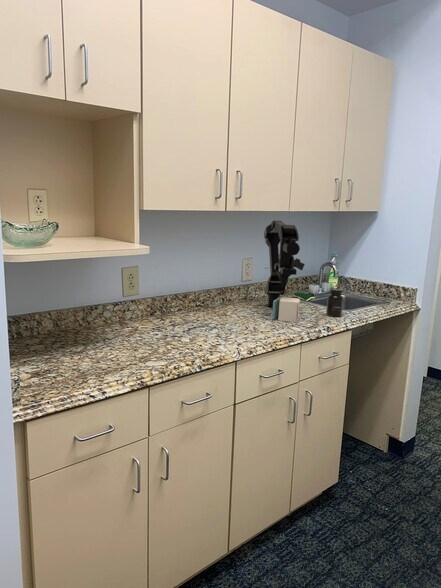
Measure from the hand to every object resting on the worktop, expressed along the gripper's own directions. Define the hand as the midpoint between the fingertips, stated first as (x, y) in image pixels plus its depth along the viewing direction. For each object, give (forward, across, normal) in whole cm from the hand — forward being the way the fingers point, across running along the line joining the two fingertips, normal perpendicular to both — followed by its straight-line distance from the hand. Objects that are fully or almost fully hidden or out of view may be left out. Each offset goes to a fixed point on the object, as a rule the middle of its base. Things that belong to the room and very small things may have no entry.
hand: (283, 287), depth 205 cm
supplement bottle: (+12, -2, -24) cm, 27 cm away
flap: (+12, -9, +5) cm, 15 cm away
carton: (+12, -11, -1) cm, 16 cm away
